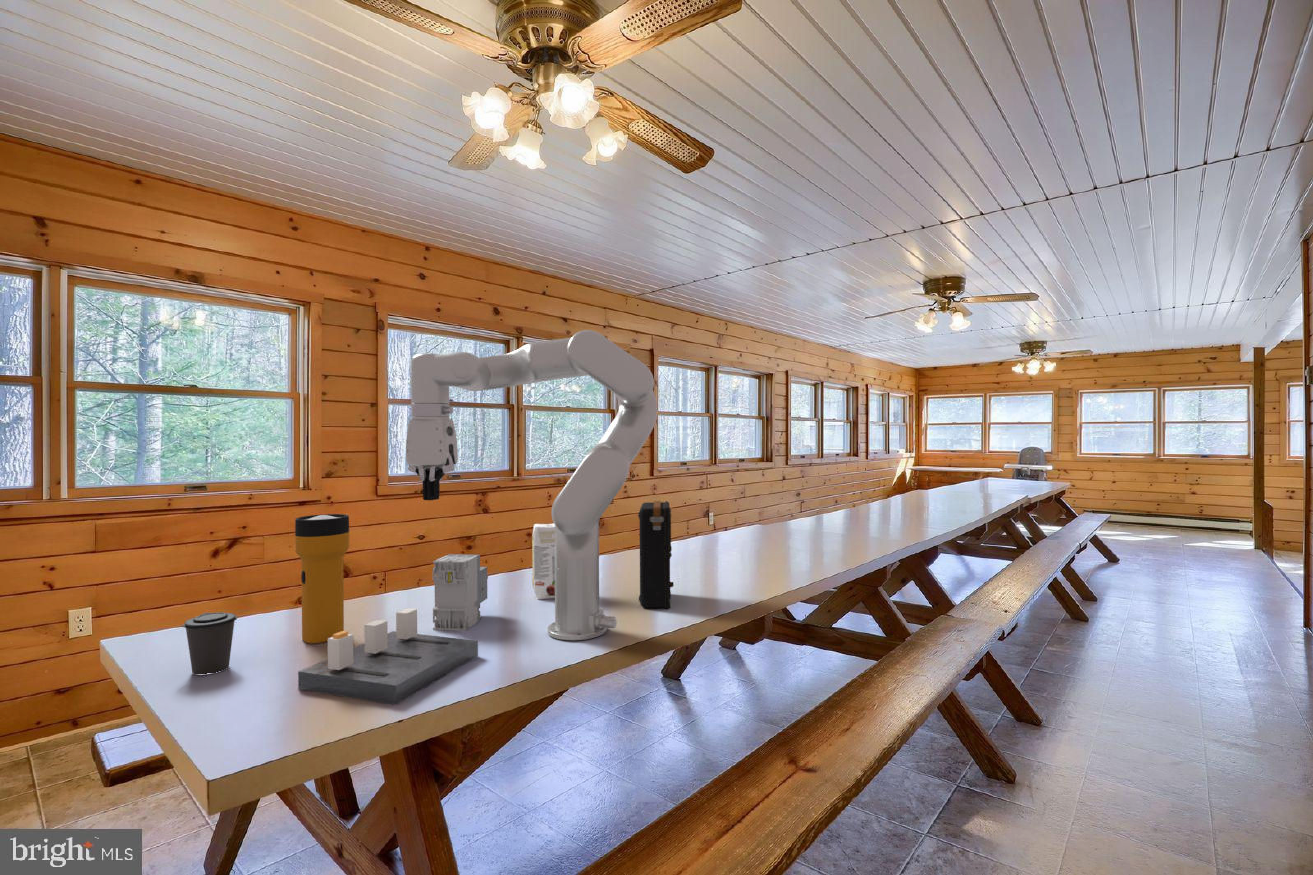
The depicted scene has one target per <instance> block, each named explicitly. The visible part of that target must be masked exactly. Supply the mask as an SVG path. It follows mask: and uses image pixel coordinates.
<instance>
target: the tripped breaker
mask: <svg viewBox="0 0 1313 875" xmlns="http://www.w3.org/2000/svg"><path fill="white" fill-rule="evenodd" d="M353 648H354V634H351V633H349V631H345V630H344V631H341V632H338V633H336V634H333V637H331V638H328V641H327V659H328V669H334V670H341V669H343V668H345V667H347V666H349V665H352V664H353Z"/></svg>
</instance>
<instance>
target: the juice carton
mask: <svg viewBox="0 0 1313 875" xmlns="http://www.w3.org/2000/svg"><path fill="white" fill-rule="evenodd" d="M531 539H532V540H531V542H532V545H531V546H532V548H531V549H532V550H531V551H532V552H531V554H532V556H531V557H532V559H531V561H532V564H531V565H532V568H531V569H532V573H531V574H532V588H533V590H534V594H535V596H536V598H537V600H547V599H555V524H554V522H553V523H547V524H546V523H535V524H533V529H532V536H531Z"/></svg>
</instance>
